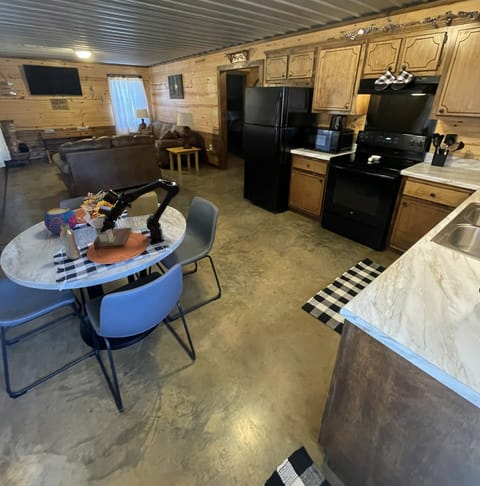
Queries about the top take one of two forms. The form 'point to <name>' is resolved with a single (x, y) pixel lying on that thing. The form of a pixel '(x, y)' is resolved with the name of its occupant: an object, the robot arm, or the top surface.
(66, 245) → the plastic bottle
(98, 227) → the syrup box
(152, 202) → the cheese
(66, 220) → the ceramic pot
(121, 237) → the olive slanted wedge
